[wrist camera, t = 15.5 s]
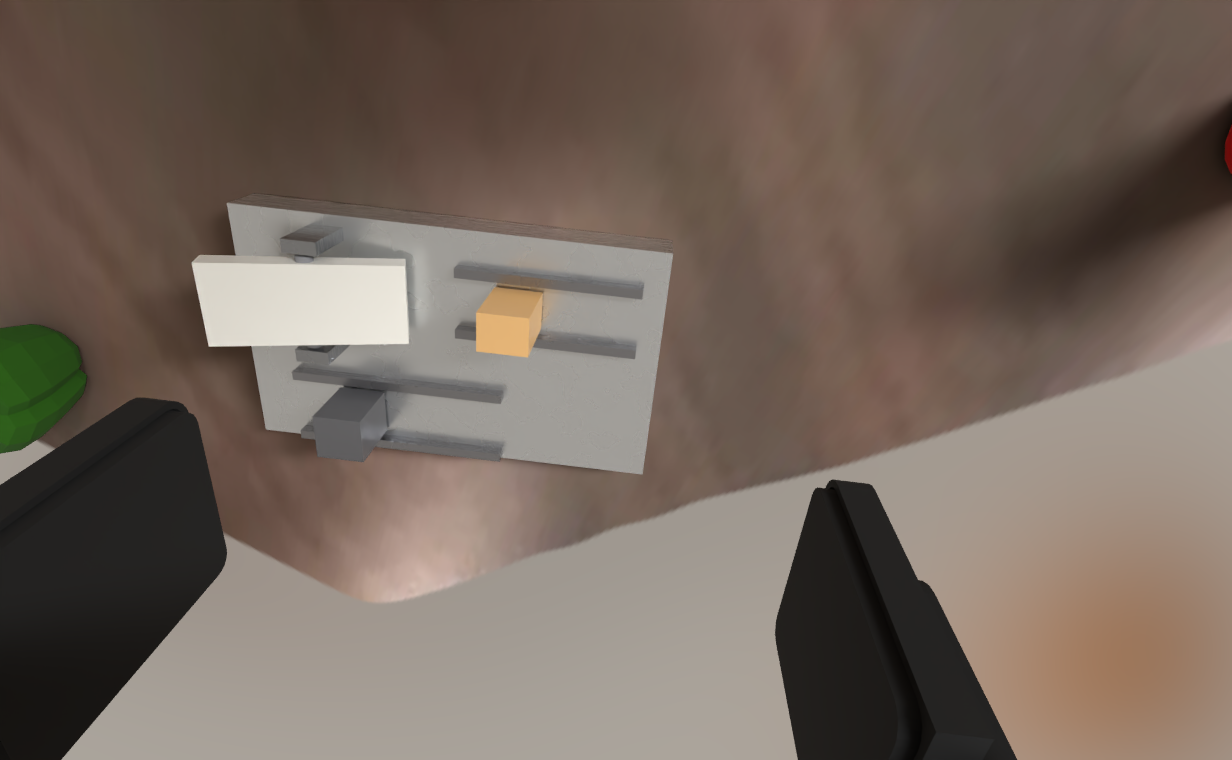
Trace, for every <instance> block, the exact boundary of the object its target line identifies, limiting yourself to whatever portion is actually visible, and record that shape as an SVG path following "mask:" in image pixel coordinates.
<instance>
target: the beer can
mask: <svg viewBox="0 0 1232 760" xmlns="http://www.w3.org/2000/svg"><path fill="white" fill-rule="evenodd" d="M1225 161H1226V164H1227V166H1228V169H1229V171H1230V173H1231V174H1232V125H1231V128H1230V130H1229V133H1228V136H1227V139H1226V142H1225Z"/></svg>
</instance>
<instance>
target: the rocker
mask: <svg viewBox="0 0 1232 760" xmlns="http://www.w3.org/2000/svg"><path fill="white" fill-rule="evenodd" d="M192 267H193V272H194V277H195V282H196V287H197V291H198V296H199V301H200V306H201V311H202V316H203V320H204V325H205V330H206V335H207V340H208V345H209V347H213V346H289V345H306V347H308V348H319V347H322V346H323V345H365V344H409V317H408V298H407V279H406V259H388V258H335V257H313V256H307V255H298V254H295V255H294V257H283V256H231V255H199V256H198V257H197V258H196V259H195V260H194V261H193V262H192Z"/></svg>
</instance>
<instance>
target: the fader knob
mask: <svg viewBox="0 0 1232 760" xmlns="http://www.w3.org/2000/svg"><path fill="white" fill-rule="evenodd" d="M312 419H313V426H314V434H315V441H316V449H317V456H318V457H324V458H333V459H341V460H349V461H358V462H364V461H365V459H366V458H367V457H368V455H369V454H370V453H371V451H372V450H373V449H374V447H375V446H376V444H377V443H378V442H379V440H380V439H381V438H382V436H383V435H384V434H385V432H386V431H387V422H386V408H385V395H384V392H377V391H368V390H360V389H351V388H343V387H340V388H339V389H338V390H337V392H336V393H335V394H334V395H333V396H332V397H331V398H330V399H329V400H328V401H327V402H326V403H325V404H324V405H323V406H322V407H321V408H320V409H319V410H318V411H317V412H316V413H315V414H314V415H313V416H312Z"/></svg>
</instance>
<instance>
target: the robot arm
mask: <svg viewBox="0 0 1232 760" xmlns="http://www.w3.org/2000/svg"><path fill="white" fill-rule="evenodd" d="M226 556H227V549H226V544H225V540H224V535H223V531H222V526H221V522H220V518H219V513H218V509H217V504H216V500H215V496H214V491H213V487H212V482H211V478H210V474H209V469H208V465H207V460H206V456H205V452H204V447H203V443H202V438H201V434H200V430H199V425H198V422H197V419H196V417H195V416H194V415H193V414H191V413H188V410H187V408H186V407H185V406H184V405H183V404H181V403H179V402H175V401H167V400H158V399H150V398H135V399H133V400H130V401H129V402H127V403H125V404H124V405H122V406H121V407H119V408H118V409H116V410H115V411H113V412H112V413H110V414H109V415H107V416H105V417H104V418H102V419H101V420H99V421H98V422H96V423H95V424H93V425H92V426H90V427H89V428H87V429H86V430H84V431H82V432H81V433H79V434H78V435H76V436H75V437H73V438H72V439H70V440H69V441H67V442H66V443H64V444H62V445H61V446H59V447H58V448H56V449H55V450H53V451H52V452H50V453H49V454H47V455H46V456H44V457H43V458H41V459H39V460H38V461H36V462H35V463H33V464H32V465H30V466H29V467H27V468H26V469H24V470H23V471H21V472H20V473H18V474H16V475H15V476H13V477H12V478H10V479H9V480H7V481H6V482H4V483H3V484H1V485H0V760H61V759H62V758H63V757H64V756H65V755H66V753H67V752H68V751H69V750H70V749H71V747H72V746H73V745H74V744H75V743H76V742H77V740H78V739H79V738H80V737H81V736H82V735H83V733H84V732H85V731H86V730H87V729H88V728H89V726H90V725H91V724H92V723H93V722H94V721H95V719H96V718H97V717H98V716H99V715H100V713H101V712H102V711H103V710H104V709H105V708H106V707H107V705H108V704H109V703H110V702H111V701H112V699H113V698H114V697H115V696H116V695H117V694H118V692H119V691H120V690H121V689H122V687H123V686H124V685H125V684H126V683H127V682H128V681H129V680H130V678H131V677H132V676H133V675H134V674H135V673H136V671H137V670H138V669H139V668H140V666H141V665H142V664H143V663H144V662H145V661H146V660H147V658H148V657H149V656H150V655H151V654H152V653H153V651H154V650H155V649H156V648H157V647H158V646H159V644H160V643H161V642H162V641H163V640H164V639H165V637H166V636H167V635H168V634H169V633H170V632H171V630H172V629H173V628H174V627H175V626H176V624H177V623H178V622H179V621H180V620H181V619H182V617H183V616H184V615H185V614H186V612H187V611H188V610H189V609H190V608H191V607H192V606H193V605H194V603H195V602H196V601H197V600H198V599H199V597H200V596H201V595H202V594H203V593H204V592H205V591H206V589H207V588H208V587H209V586H210V584H211V583H212V582H213V581H214V580H215V579H216V578H217V576H218V575H219V574H220V572H221V571H222V569H223V567H224V565H225V561H226ZM775 636H776V645H777V651H778V656H779V661H780V666H781V671H782V677H783V683H784V688H785V693H786V699H787V704H788V709H789V715H790V719H791V725H792V731H793V736H794V741H795V747H796V752H797V757H798V760H1017V758H1016V756H1015V754H1014V752H1013V750H1012V749H1011V746H1010V744H1009V742H1008V740H1007V738H1006V736H1005V734H1004V732H1003V730H1002V728H1001V726H1000V724H999V722H998V720H997V718H996V716H995V714H994V712H993V710H992V708H991V706H990V704H989V702H988V700H987V698H986V696H985V694H984V692H983V690H982V688H981V686H980V684H979V682H978V680H977V678H976V676H975V674H974V672H973V670H972V668H971V666H970V664H969V662H968V660H967V658H966V656H965V654H964V652H963V650H962V648H961V646H960V644H959V642H958V640H957V638H956V636H955V634H954V632H953V630H952V628H951V626H950V624H949V622H948V620H947V618H946V616H945V614H944V611H943V610H942V607H941V605H940V604H939V602H938V599H937V597H936V596H935V594H934V592H933V591H932V589H931V588H930V586H929V585H928V584H926V583H925V582H923V581H920V580H918V579H917V577H916V575H915V573H914V571H913V569H912V567H911V564H910V562H909V560H908V558H907V556H906V554H905V552H904V550H903V548H902V546H901V544H900V541H899V539H898V537H897V535H896V533H895V531H894V529H893V527H892V525H891V523H890V521H889V518H888V516H887V514H886V512H885V510H884V508H883V506H882V504H881V502H880V500H879V498H878V495H877V493H876V491H875V489H874V488H873V486H872V485H870V484H865V483H857V482H848V481H840V480H831V481H829V483H828V484H827V486H826V488H824V489H823V488H816V489H815V490H814V492H813V494H812V497H811V501H810V504H809V508H808V512H807V515H806V518H805V521H804V525H803V529H802V532H801V535H800V539H799V542H798V546H797V549H796V553H795V556H794V560H793V563H792V567H791V570H790V574H789V577H788V580H787V584H786V587H785V591H784V594H783V598H782V602H781V605H780V608H779V612H778V615H777V620H776V629H775Z"/></svg>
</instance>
